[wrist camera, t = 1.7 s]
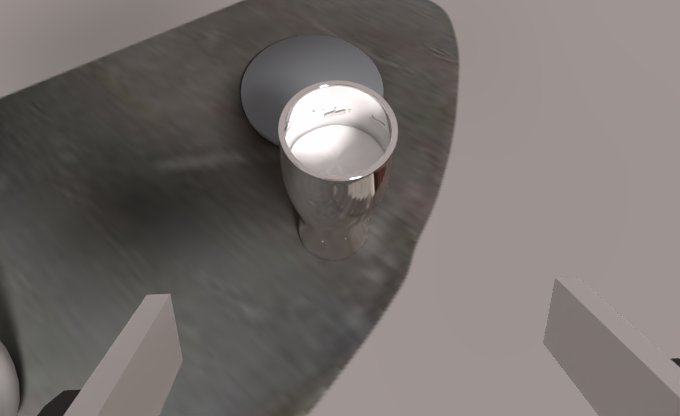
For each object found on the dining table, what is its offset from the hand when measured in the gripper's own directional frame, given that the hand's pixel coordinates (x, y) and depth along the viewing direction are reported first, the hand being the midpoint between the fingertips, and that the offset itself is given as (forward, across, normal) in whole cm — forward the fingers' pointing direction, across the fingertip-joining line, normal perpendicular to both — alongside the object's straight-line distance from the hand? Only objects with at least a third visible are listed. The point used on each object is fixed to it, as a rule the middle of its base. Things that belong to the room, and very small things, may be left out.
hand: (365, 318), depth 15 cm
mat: (+32, -2, +4) cm, 32 cm away
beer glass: (+22, 0, -6) cm, 22 cm away
